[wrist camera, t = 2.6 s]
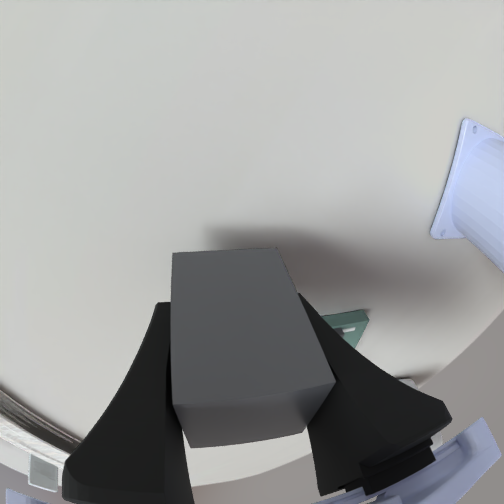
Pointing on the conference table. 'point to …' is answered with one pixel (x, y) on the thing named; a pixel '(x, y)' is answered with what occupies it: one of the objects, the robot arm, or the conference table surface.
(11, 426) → the white keyboard
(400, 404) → the robot arm
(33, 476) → the skincare box
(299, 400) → the plug
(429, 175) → the conference table surface
